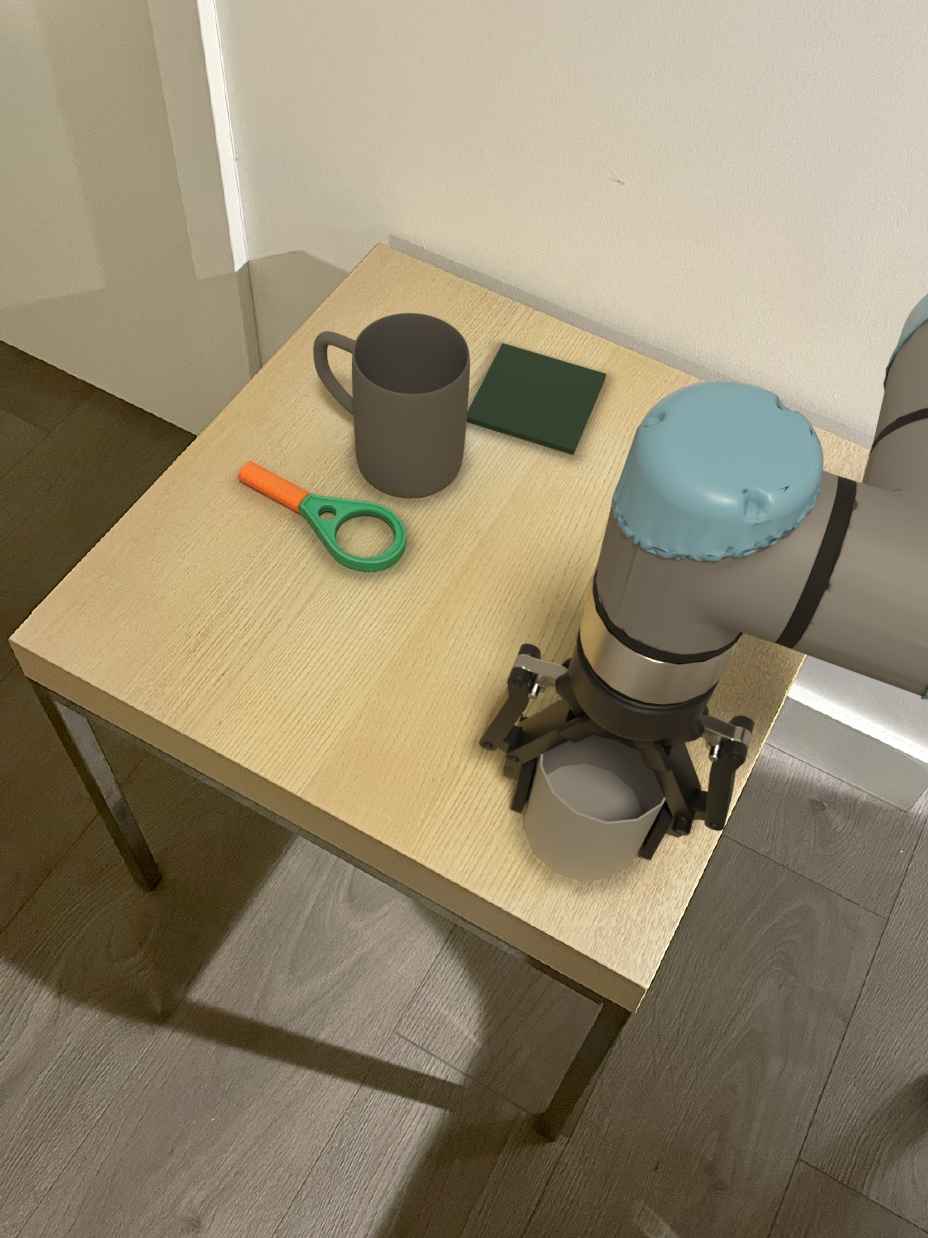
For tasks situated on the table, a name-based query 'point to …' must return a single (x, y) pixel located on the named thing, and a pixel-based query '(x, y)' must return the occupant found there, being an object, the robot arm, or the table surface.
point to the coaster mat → (536, 398)
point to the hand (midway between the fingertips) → (585, 817)
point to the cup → (590, 807)
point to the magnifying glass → (327, 529)
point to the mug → (404, 400)
